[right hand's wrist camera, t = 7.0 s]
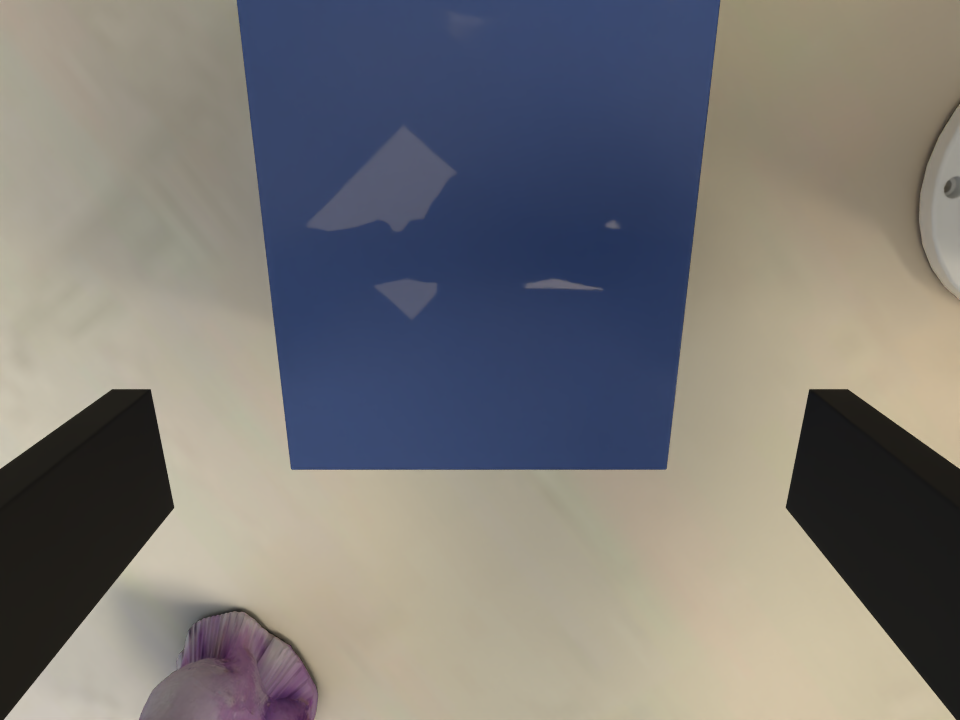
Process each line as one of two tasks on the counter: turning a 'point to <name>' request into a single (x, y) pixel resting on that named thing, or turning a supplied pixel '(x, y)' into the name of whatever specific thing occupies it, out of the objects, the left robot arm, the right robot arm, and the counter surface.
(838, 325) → the counter surface
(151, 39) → the counter surface
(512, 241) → the cabinet
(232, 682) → the figurine
